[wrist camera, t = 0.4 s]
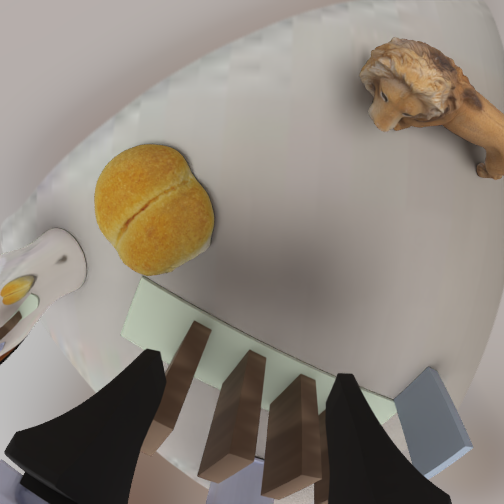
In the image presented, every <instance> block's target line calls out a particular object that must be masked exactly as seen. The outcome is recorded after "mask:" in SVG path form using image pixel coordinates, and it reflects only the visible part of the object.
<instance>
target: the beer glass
mask: <svg viewBox="0 0 504 504" xmlns="http://www.w3.org/2000/svg"><path fill="white" fill-rule="evenodd" d="M86 271H87V270H86V261H85V257H84V254H83V252H82V249H81V247H80V245H79V244H78V242H77V241H76V240H75V238H74V237H73V236H72V235H71V234H69V233H68V232H67V231H65V230H63V229H60V228H52V229H50V230H48V231H46V232H45V233H43V234H42V235H41V236H40V237H39V238H37V239H36V240H35V241H33V242H32V243H31V244H29V245H27V246H25V247H23V248H20V249H17V250H13V251H10V252H6V253H2V254H0V365H1V364H2V363H3V362H4V361H5V360H6V359H7V358H8V357H9V356H10V355H11V354H12V353H13V352H14V351H15V350H16V349H17V348H18V347H19V345H20V344H21V343H22V342H23V341H24V339H25V338H26V337H27V336H28V334H29V333H30V331H31V330H32V329H33V327H34V326H35V325H36V323H37V322H38V321H39V319H40V318H41V317H42V315H43V314H44V313H45V312H46V310H47V309H48V308H49V307H50V306H51V305H52V304H53V303H54V302H55V301H57V300H58V299H59V298H61V297H63V296H65V295H67V294H69V293H72V292H74V291H76V290H78V289H79V288H80V287H81V286H82V285H83V283H84V281H85V278H86Z"/></svg>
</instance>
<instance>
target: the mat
mask: <svg viewBox="0 0 504 504" xmlns="http://www.w3.org/2000/svg"><path fill="white" fill-rule="evenodd" d="M194 320H195V321H196V322H198V323H200V324H202V325H204V326H206V327H207V328H209V329H211V330H212V331H211V334H210V336H209V339H208V341H207V344H206V346H205V349H204V352H203V354H202V357H201V359H200V362H199V364H198V367H197V369H196V372H195V375H194V378H196V379H198V380H200V381H202V382H204V383H206V384H208V385H210V386H212V387H214V388H217V389H219V390H221V387H222V383H223V382H224V381H225V380H226V378H227V377H228V376H229V375H230V373H231V372H232V371H233V370H234V368H235V367H236V366H237V365H238V363H239V362H240V361H241V359H242V358H243V357H244V356H245V354H246V353H247V352H248V351H249V349H250V350H252V351H254V352H256V353H258V354H260V355H262V356H264V357H266V367H265V376H264V385H263V394H262V402H261V408H262V409H265V410H267V411H269V407H270V404H271V403H272V402H273V401H274V400H275V399H276V398H277V397H278V396H279V395H280V394H281V393H282V392H283V391H284V390H285V389H286V388H287V387H288V386H289V385H290V384H291V383H292V382H293V381H294V380H295V379H296V378H297V377H298V376H299V375H300V374H303V375H305V376H308V377H310V378H312V379H314V380H316V390H317V403H318V415H319V414H320V413H321V412H322V411H324V410H325V409H326V400H327V398H328V396H329V394H330V391H331V389H332V387H333V384H334V382H335V379H336V376H333V375H331V374H329V373H326V372H324V371H322V370H320V369H317V368H315V367H313V366H311V365H309V364H306V363H304V362H302V361H300V360H298V359H296V358H294V357H291V356H289V355H287V354H285V353H283V352H281V351H279V350H277V349H275V348H273V347H271V346H269V345H267V344H265V343H263V342H261V341H259V340H257V339H255V338H253V337H251V336H249V335H247V334H245V333H243V332H241V331H239V330H237V329H235V328H234V327H232V326H230V325H228V324H226V323H224V322H222V321H220V320H219V319H217V318H215V317H213V316H211V315H209V314H208V313H206V312H204V311H202V310H200V309H199V308H197V307H195V306H193V305H192V304H190V303H188V302H186V301H184V300H183V299H181V298H179V297H178V296H176V295H174V294H172V293H171V292H169V291H167V290H166V289H164V288H162V287H161V286H159V285H157V284H156V283H154V282H152V281H151V280H149V279H147V278H146V277H144V276H142V277H141V280H140V283H139V285H138V288H137V290H136V293H135V296H134V298H133V301H132V304H131V306H130V309H129V312H128V315H127V317H126V320H125V323H124V326H123V329H122V332H121V336H122V337H124V338H125V339H127V340H129V341H130V342H132V343H133V344H135V345H137V346H138V347H140V348H142V349H143V350H145V349H147V348H148V349H152V350H157V351H160V352H161V357H162V361H164V362H166V363H168V364H170V363H171V361H172V359H173V357H174V355H175V353H176V351H177V350H178V348H179V346H180V344H181V342H182V341H183V339H184V337H185V335H186V334H187V332H188V330H189V328H190V327H191V325H192V323H193V321H194ZM360 389H361V391H362V393H363V395H364V397H365V398H366V400H367V402H368V404H369V406H370V407H371V409H372V411H373V412H374V414H375V416H376V418H377V419H378V421H379V422H380V424H381V425H382V424H383V423H385V422H386V421H387V420H388V419H390V418H391V417H392V416H393V415H395V414H396V413H397V409H396V406H395V403H394V400H392V399H389V398H387V397H384V396H382V395H379V394H377V393H374V392H372V391H369V390H367V389H364V388H362V387H360Z"/></svg>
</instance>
